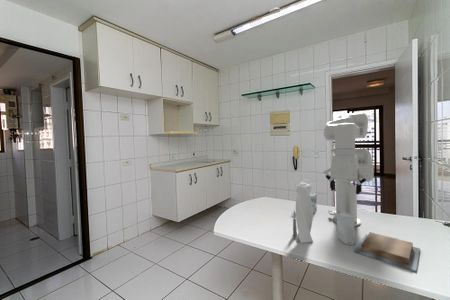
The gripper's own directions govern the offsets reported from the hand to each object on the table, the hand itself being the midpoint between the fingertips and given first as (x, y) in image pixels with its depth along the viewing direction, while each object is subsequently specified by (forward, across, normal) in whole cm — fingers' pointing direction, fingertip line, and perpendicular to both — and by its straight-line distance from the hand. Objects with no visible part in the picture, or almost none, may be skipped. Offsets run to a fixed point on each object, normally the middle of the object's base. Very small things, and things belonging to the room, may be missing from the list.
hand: (345, 191), depth 88 cm
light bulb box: (+22, -29, +25) cm, 44 cm away
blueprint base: (+22, +14, +2) cm, 26 cm away
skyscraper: (+23, -14, -10) cm, 28 cm away
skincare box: (+22, 0, 0) cm, 22 cm away
